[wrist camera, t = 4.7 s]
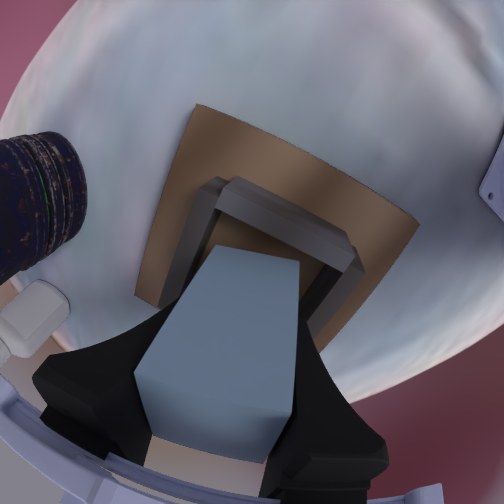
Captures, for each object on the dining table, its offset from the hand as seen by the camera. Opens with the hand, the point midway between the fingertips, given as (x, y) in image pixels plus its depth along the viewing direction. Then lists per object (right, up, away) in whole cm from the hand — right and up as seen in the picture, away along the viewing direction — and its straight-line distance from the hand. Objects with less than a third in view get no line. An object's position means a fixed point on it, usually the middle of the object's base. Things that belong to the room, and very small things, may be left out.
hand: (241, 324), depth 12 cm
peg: (0, +1, +2) cm, 3 cm away
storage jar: (-16, +8, +6) cm, 19 cm away
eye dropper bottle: (-20, -1, +12) cm, 24 cm away
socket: (+1, +3, +6) cm, 6 cm away
